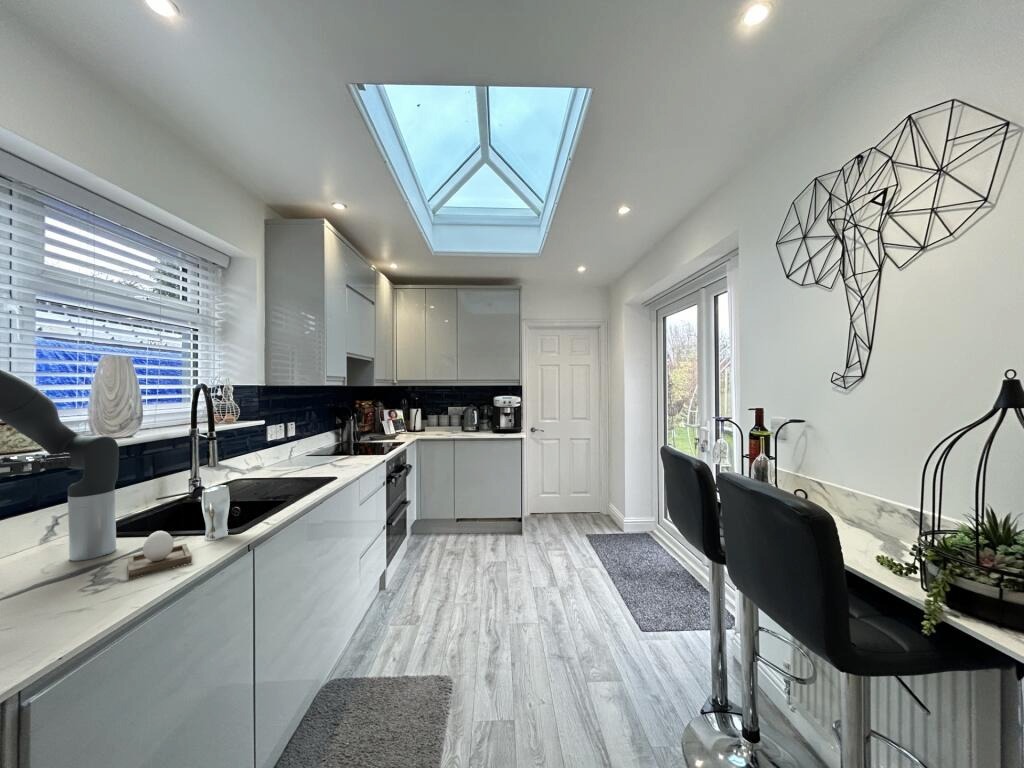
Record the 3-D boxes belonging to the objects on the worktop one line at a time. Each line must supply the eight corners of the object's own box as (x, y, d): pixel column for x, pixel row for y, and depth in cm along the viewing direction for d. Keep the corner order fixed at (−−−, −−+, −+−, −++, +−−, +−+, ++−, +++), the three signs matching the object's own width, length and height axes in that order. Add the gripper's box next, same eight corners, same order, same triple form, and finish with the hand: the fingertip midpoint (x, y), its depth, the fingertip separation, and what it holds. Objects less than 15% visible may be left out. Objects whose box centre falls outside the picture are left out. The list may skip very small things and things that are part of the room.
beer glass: (226, 531, 131) (225, 484, 131) (233, 535, 127) (232, 487, 127) (199, 537, 126) (198, 489, 126) (206, 542, 121) (205, 492, 122)
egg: (149, 558, 109) (149, 529, 109) (177, 554, 111) (177, 525, 111) (138, 567, 103) (137, 536, 103) (168, 562, 105) (167, 533, 105)
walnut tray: (128, 564, 108) (127, 556, 108) (186, 550, 116) (186, 543, 116) (128, 579, 99) (128, 570, 99) (191, 563, 107) (191, 555, 107)
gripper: (-56, 456, 77) (71, 445, 89) (-45, 450, 86) (69, 440, 98) (-56, 496, 77) (72, 480, 89) (-44, 485, 86) (70, 472, 98)
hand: (70, 459), depth 94 cm, fingers open, 8 cm apart
